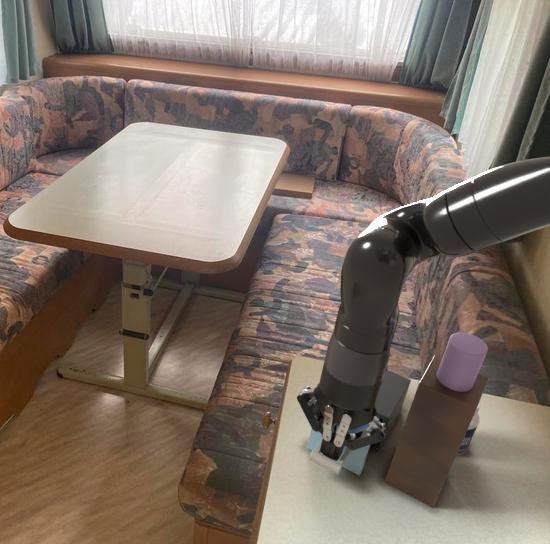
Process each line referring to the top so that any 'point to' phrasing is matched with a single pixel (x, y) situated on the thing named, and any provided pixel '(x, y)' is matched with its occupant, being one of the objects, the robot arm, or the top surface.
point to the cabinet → (391, 399)
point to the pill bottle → (469, 432)
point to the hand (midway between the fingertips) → (329, 456)
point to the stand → (432, 435)
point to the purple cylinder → (461, 362)
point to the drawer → (348, 458)
